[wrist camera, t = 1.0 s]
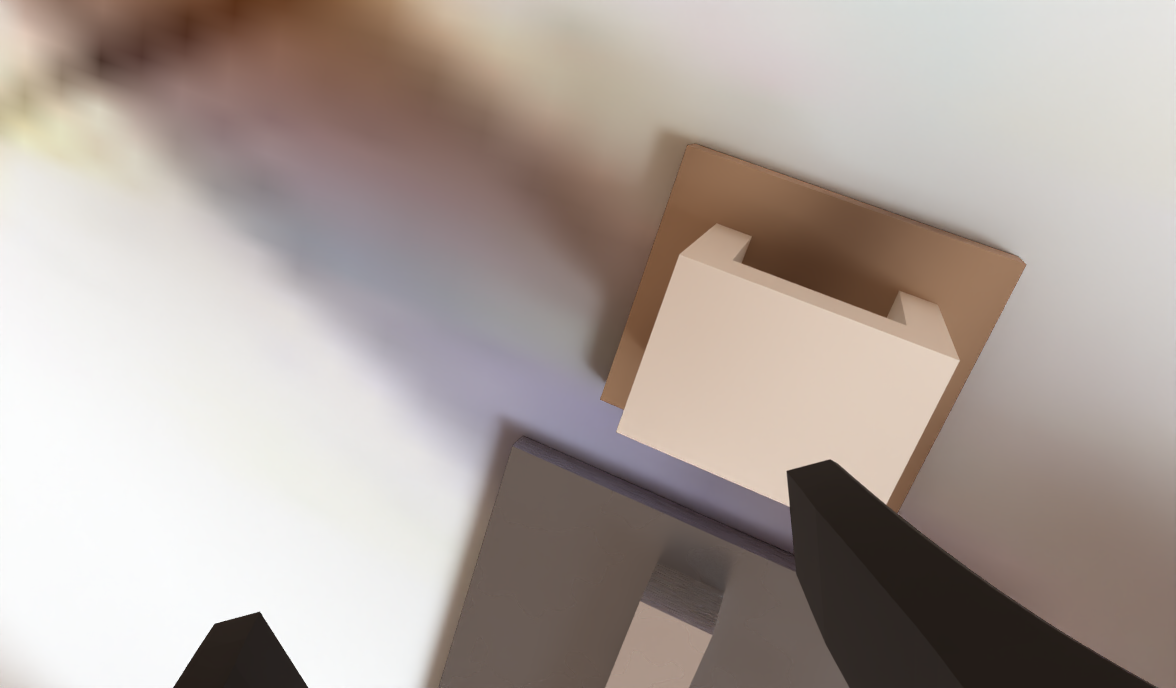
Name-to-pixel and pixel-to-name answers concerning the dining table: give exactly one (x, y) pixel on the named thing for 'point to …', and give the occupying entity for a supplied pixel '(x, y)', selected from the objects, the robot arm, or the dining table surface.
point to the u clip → (783, 375)
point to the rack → (626, 593)
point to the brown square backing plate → (823, 265)
